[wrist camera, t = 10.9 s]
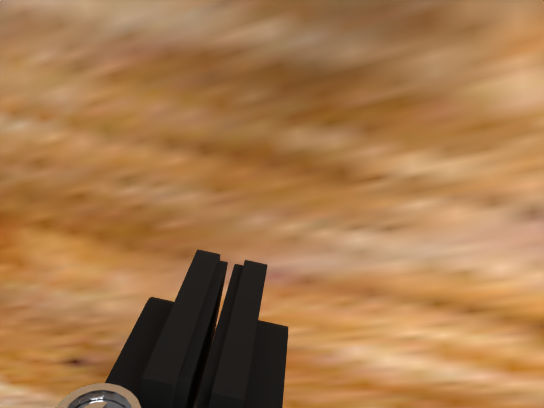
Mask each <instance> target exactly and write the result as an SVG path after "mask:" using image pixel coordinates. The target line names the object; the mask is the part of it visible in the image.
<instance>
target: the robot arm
mask: <svg viewBox="0 0 544 408" xmlns="http://www.w3.org/2000/svg"><path fill="white" fill-rule="evenodd" d="M227 265H228V262H224V261H220V254H216V253H211V252H207V251H202V250H197V252H196V254H195V256H194V258H193V261H192V263H191V265H190V268H189V270H188V272H187V274H186V277H185V279H184V281H183V284H182V286H181V288H180V291H179V293H178V295H177V297H176V300H175V302H172V301H168V300H163V299H159V298H154V297H151V298H149V300H148V301H147V303H146V305H145V307H144V309H143V311H142V313H141V315H140V316H139V318H138V320H137V322H136V324H135V326H134V328H133V330H132V332H131V334H130V336H129V338H128V340H127V342H126V343H125V345H124V347H123V349H122V351H121V353H120V355H119V357H118V359H117V361H116V363H115V365H114V367H113V369H112V370H111V372H110V374H109V376H108V378H107V380H106V382H105V383H100V384H92V385H88V386H84V387H81V388H79V389H77V390H75V391H74V392H72V393H70V394H69V395H67V396H66V397H65V398H64V399H63V400H62V401H61V402H60V403H59V404H58V405H57V406H56V408H195V407H196V408H282V404H283V391H284V379H285V366H286V354H287V341H288V327H287V326H283V325H278V324H273V323H269V322H264V321H260V320H258V317H259V311H260V305H261V299H262V293H263V288H264V282H265V276H266V270H267V265H266V264H262V263H257V262H253V261H248V260H245V262H244V266H242V265H238V264H235V265H234V268H233V272H232V275H231V279H230V282H229V286H228V290H227V293H226V297H225V300H224V304H223V307H222V311H221V314H220V318H219V321H218V325H217V328H216V332H215V327H216V322H217V317H218V312H219V307H220V301H221V296H222V291H223V286H224V281H225V275H226V270H227ZM214 332H215V335H214ZM213 338H214V339H213Z"/></svg>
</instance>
